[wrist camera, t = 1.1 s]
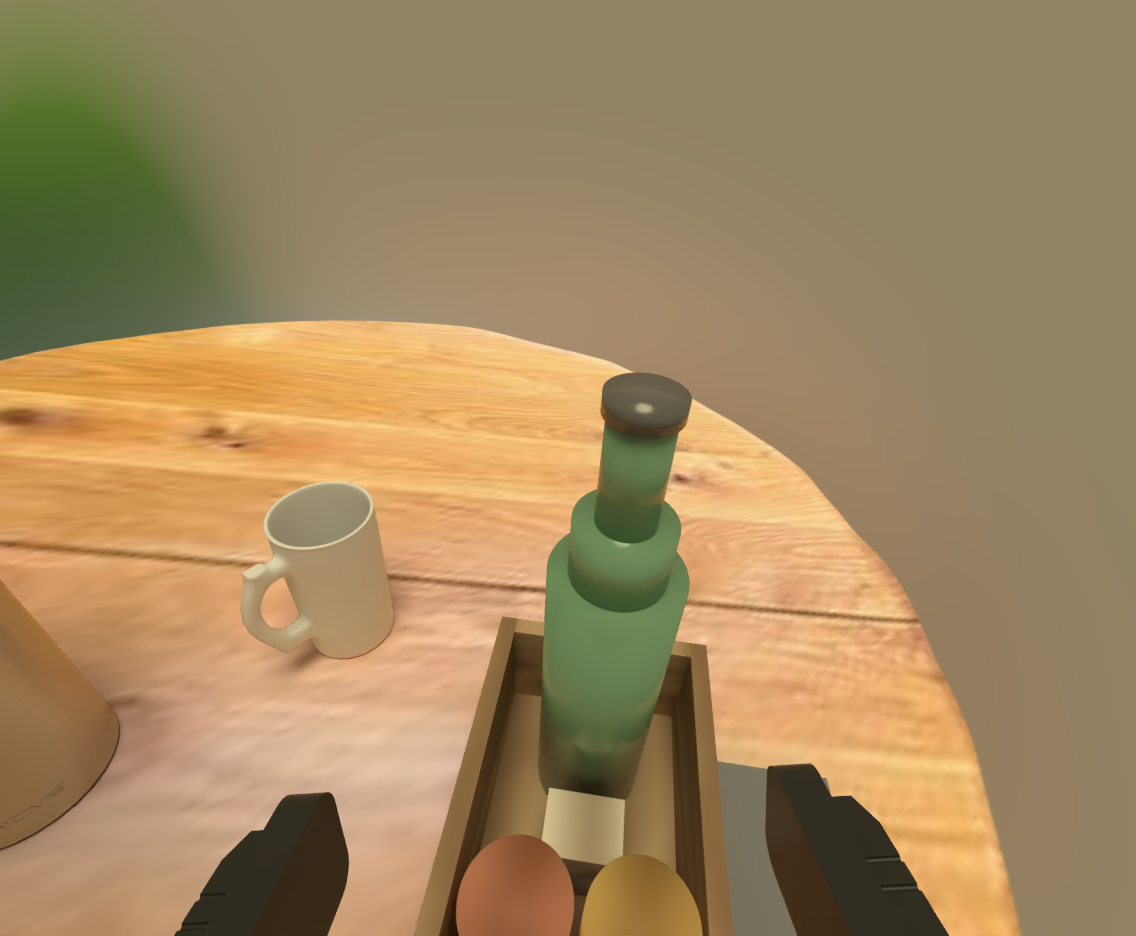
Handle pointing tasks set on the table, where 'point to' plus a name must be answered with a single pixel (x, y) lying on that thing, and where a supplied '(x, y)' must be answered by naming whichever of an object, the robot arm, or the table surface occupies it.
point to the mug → (323, 572)
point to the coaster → (750, 854)
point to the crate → (581, 819)
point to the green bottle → (614, 597)
